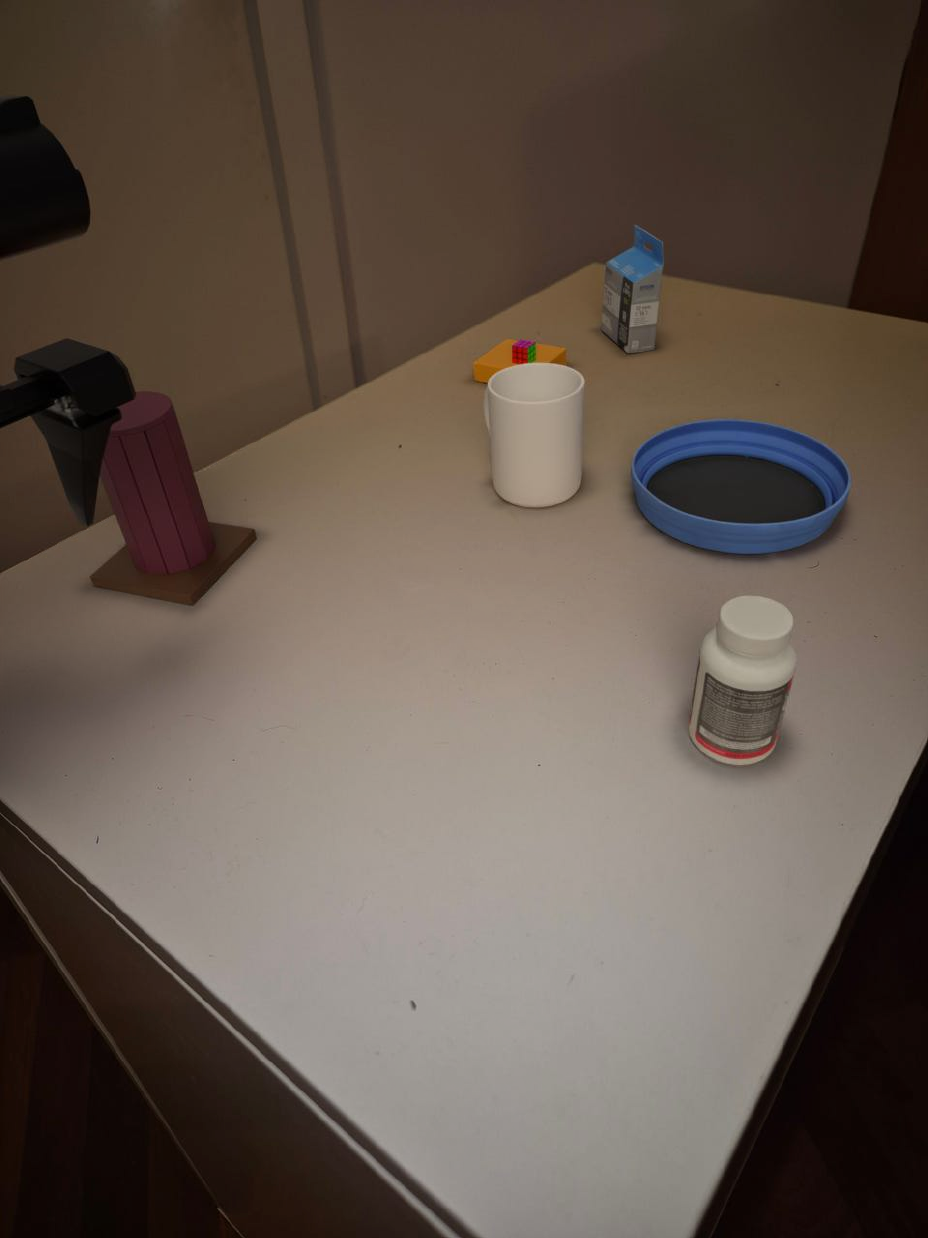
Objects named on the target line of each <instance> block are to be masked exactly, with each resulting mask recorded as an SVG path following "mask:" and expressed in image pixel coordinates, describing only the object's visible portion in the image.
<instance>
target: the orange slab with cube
mask: <svg viewBox="0 0 928 1238" xmlns="http://www.w3.org/2000/svg"><path fill="white" fill-rule="evenodd" d="M527 363H553V364H559V365H564V366H567V348H566V347H562V346H555V345H548V344H543V343H537V342H536V341H532V340H525V339H513V338H505V340H503V341H502V342H500V343H499V344H497V345H496V346H494V347H493V348H492V349H490V350H489V351H488V352H486V353H485V354H484V355H482V356H480V357H479V358H478V359H476V360H475V361H474V362H473V365H472V366H473V378H474V381H475V382H479V383H483V384H484V383H485V384H488V382H489V379H490V378H491V377H492V376H493V375H494V374H495V373H497V372H499V371H501V370H503V369H505V368H508V367H511V366H515V365H520V364H527Z"/></svg>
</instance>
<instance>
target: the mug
mask: <svg viewBox="0 0 928 1238" xmlns="http://www.w3.org/2000/svg"><path fill="white" fill-rule="evenodd" d="M585 384H586V383H585V378H584V376H583V375H582V374H581V372H579V371H578V370H576V369H574V368H573V367H570V366H567V365H566V366H564V365H559V364H553V363H527V364H520V365H515V366H511V367H508V368H505V369H503V370H501V371H499V372H497V373H495V374H494V375H493V376H492V377H491V378H490V379H489V382H488V383H487V387H486V389H485V391H484V394H483V401H482V409H483V418H484V422H485V423H484V424H485V426H486V429H487V432H488V434H489V441H490V442H489V444H490V461H491V464H490V465H491V466H490V467H491V479H492V485H493V488H494V491H495V492H496V493H497V495H498V496H499V497H500V498H502V499H503V501H505V502H508V503H509V504H513V505H515V506H519V507H523V508H536V509H537V508H547V507H552V506H556V505H559V504H562V503H564V502H566V501H568V500H570V499H571V498H572V497H574V495H575V494H576V493H577V492H578V490H579V489H580V487H581V482H582V475H583V455H584V454H583V451H584V449H583V448H584V420H585V419H584V417H585V415H584V413H585V412H584V411H585Z"/></svg>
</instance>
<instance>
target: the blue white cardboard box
mask: <svg viewBox="0 0 928 1238" xmlns="http://www.w3.org/2000/svg"><path fill="white" fill-rule="evenodd" d="M645 243H646V244H648V243H649V246H650V247H652V250H653V251H652V250H651V249H649V248H647V247H646V246H645ZM664 264H665V261H664V242H663V241H662V240H660V239H659V238H657V237H656V236H654V235H653V234H651V233H650V232H648V231H646V230H644V229H643V228H641V227H639V226H638V225H636V224H634V225H633V246H631V247H630V248H628V249H626V250H625V251H623V252H622V253H620V254H618V255H616V256H614V257H613V258H611V259H610V260H608V261H607V262H605V269H604V270H605V271H604V284H603V298H602V310H601V311H602V312H601V323H600V330H601V331H602V332H603V333H604V334H606V335H607V336H608V337H609V338H610V339H611V340H612V341H613V342H614V343H616V344H617V345H618V346H619V347H620V348H621V349H622V350H623V351H625V352H626V353H627V354H632V353H633V354H634V353H642V352H643V353H644V352H649V351H654V350H655V347H656V337H657V336H656V335H657V327H658V318H659V309H660V299H661V289H662V279H663V274H664V273H663V272H664V266H665V265H664Z"/></svg>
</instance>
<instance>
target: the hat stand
mask: <svg viewBox="0 0 928 1238" xmlns="http://www.w3.org/2000/svg"><path fill="white" fill-rule="evenodd" d="M208 522H209V525H210V528H211V531H212V535H213V538H214V541H215V545H216V546H215V548H214V550H213V551H212V553H211V554H210V556H209V557H208V558H207V559H206V560H204V561H203V562H201V563H200V564H198V565H196V566H195V567H193V568H190V569H189V570H185V571H181V572H177V573H174V574H170V575H169V574H168V575H156V574H149V573H148V574H147V573H145V572H143V571H141V570H139V569H137V568H136V567H135V566H134V563H133V561H132V558H131V556H130V553H129V550H128V548H127V545H126V544H125V545H123V547H122V548H121V549H119V550H117V552H116V553H115V554H114V555H112V556H111V557H110V558H109V559H107V561H105V562H104V563H103V564H102V565H101V566H100V567H99V568H98V569H95V571H94V572H93V573H91V574H90V575H89V579H90V581H91V584H92V586H93V587H98V588H104V589H108V590H113V591H119V592H123V593H129V594H133V595H138V596H143V597H149V598H154V599H158V600H163V601H169V602H173V603H178V604H184V605H190V606H193V605H195V603H197V601H199V599H200V598H202V596H203V595H204V594H205V593H206V592H207V591H208V590H209V589H210V588H211V587H212V586H213V585H214V584H215V582H216V581H218V579H219V578H220V577H221V576H222V575H223V574H224V573H226V571H228V569H229V568H230V567H231V566H232V565H233V564H234V563H235V562H236V561H237V559H239V557H241V555H242V554H243V553H245V551H246V550H247V549H248V548H249V547H250V546H251V545H252V544H253V543H254V542H255V541H256V540H257V537H258V535H257V533H256V529H255V528H250V527H246V526H245V527H243V526H237V525H231V524H225V523H219V522H213V521H208Z"/></svg>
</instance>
